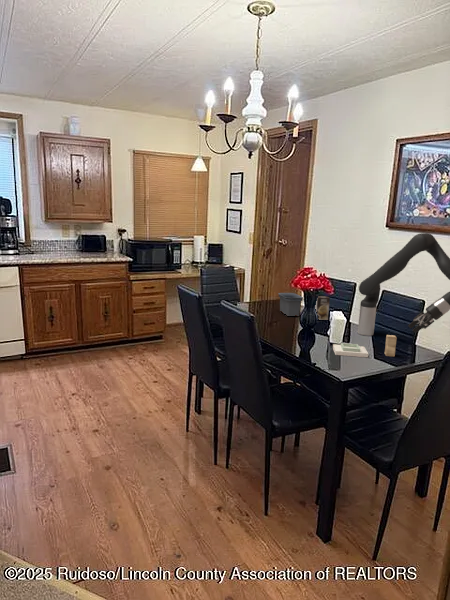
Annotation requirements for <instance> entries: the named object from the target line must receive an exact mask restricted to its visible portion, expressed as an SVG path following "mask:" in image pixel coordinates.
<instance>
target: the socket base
mask: <svg viewBox="0 0 450 600" xmlns="http://www.w3.org/2000/svg"><path fill="white" fill-rule="evenodd" d="M332 349H333V352H334V355H335V356H345V357H347V356H348V357H360V358H369V351H367V349H366V347H365V346H362V345H361V346H360V345H359V344H358V343H344V342H341V343H340V344H336V343H335V344H332Z"/></svg>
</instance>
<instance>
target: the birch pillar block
mask: <svg viewBox="0 0 450 600" xmlns="http://www.w3.org/2000/svg"><path fill="white" fill-rule="evenodd" d="M397 339H398V338H397V336H396V335H392V334H391V335H390V334H386V337H385V348H384V355H385V356H386V357H395V355H396V345H397Z"/></svg>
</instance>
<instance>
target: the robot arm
mask: <svg viewBox="0 0 450 600" xmlns="http://www.w3.org/2000/svg"><path fill="white" fill-rule="evenodd" d="M422 252H427V253H428V254H429V255H430V256H431V257H432V258H433V259H434V260H435V263H436V265H437V267H438V268H439V271H440V272H441V273H442V274H443V275H444V277H446V278H447V279H448V280H449V281H450V257H449V255H448V254H447V253H446V252H445V250H444V249H443V248H442V247H441V245H440V243H439V242H438V241H437V239H436V238H435V236H433V234H431V233H428V232H422V233H418V234H415V235H414V236H413V237H412V238H410V239H409V241H407V243H406V244H405V245H404V246H403V247H402V248H401V249H400V250H399V251H398V252H395V254H394V255H392V257H390V258H389V259H388V260H387V261H386V262H384V264H383V265H382V266H380V267H379V268H378V269H377V270H376V271H375V272H374V273H372V274H370V276H367V277H366V278H364V279H363V280H362V281H361V282H360V284H359V286H358V291H359V293H360V294H361V295H363V296H365V297H364V298H363V299H362V300H360V305H359V316H358V327H357V334H358V335H360V336H369V337H370V336H374V332H375V323H376V315H377V306H378V303H379V301H380V293H381V284H383V283H385V282H387V281H389V280H391V279H393V278H394V277H396V276H397V275H398V274H400V273H401V272H402V271H403V270H404V269H405V268H406V267H407V265H408V264H409V262H410V261H411V260H412V259H413V258H414V257H415V256H417V255H418V254H420V253H422ZM425 311H426V312H424V311H422V312H420V313H418V315H416V316H414V317H413V320H412V322H410V323H409V324H408V325H407V327H409V329H412V331H413V332H414V333H415V334H417V333H418V332H419V331H421V330H422V329H423V330H424V329H425V330H426V329H427V328H428V327H430V326H431V325H432V324H434V322H435V321H438V320H439V319H441V317H443V316H444V315H445V314H446V313H448V312H449V311H450V291H448V292H446V293H445V294H443V296H441V297H439V298H438V299H436V300H435V301H433V302H432V303H431V304H430V305H428V306H427V307H426V308H425Z"/></svg>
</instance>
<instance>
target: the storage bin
mask: <svg viewBox="0 0 450 600" xmlns="http://www.w3.org/2000/svg"><path fill="white" fill-rule="evenodd" d="M277 294H278V297H279V312H280V311H282V312H283V313H284V314H286V315H287V316H295V315H297V316H300V312H301V311H300V310H301V305H302V303H303V300H304V296H302V295H299V294H297V293H295V292H278V293H277ZM284 314H283V315H284ZM286 315H285V316H286ZM287 316H286V317H287Z"/></svg>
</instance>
